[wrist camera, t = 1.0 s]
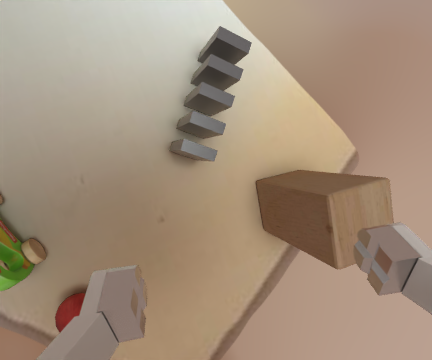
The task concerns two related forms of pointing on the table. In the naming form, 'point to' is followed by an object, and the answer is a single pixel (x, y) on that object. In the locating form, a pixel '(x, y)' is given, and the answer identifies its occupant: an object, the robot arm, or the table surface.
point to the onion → (69, 310)
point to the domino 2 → (217, 73)
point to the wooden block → (324, 211)
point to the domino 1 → (225, 47)
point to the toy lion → (16, 257)
